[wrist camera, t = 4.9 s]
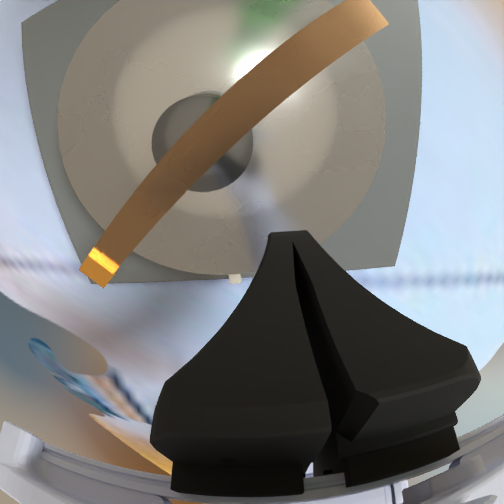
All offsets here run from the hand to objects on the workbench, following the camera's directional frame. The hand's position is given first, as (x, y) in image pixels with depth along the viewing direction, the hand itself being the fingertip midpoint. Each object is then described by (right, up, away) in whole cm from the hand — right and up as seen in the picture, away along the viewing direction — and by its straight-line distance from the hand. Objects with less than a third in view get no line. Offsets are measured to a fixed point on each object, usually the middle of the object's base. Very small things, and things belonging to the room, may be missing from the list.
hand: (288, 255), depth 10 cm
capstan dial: (-3, +5, 0) cm, 6 cm away
